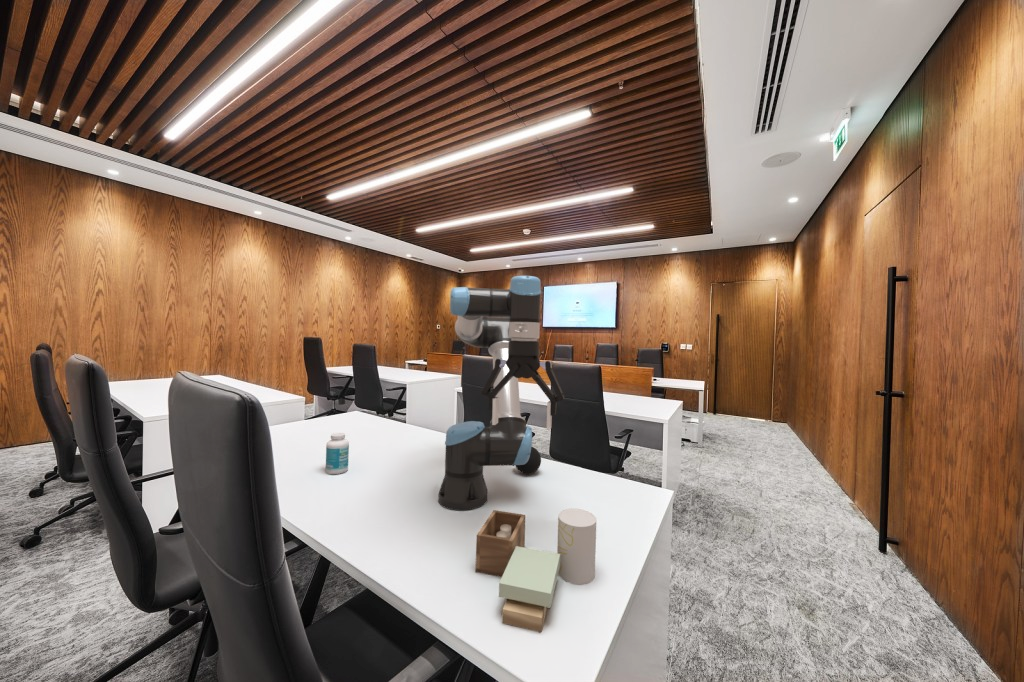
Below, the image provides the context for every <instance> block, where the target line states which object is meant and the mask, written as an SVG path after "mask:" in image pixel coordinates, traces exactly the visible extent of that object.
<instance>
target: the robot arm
mask: <svg viewBox="0 0 1024 682" xmlns="http://www.w3.org/2000/svg"><path fill="white" fill-rule="evenodd" d="M541 286H542V285H541V279H540V278H539V277H537V276H534V275H533V276H532V275H515V276H513V277H512V278H511V279H510V285H509V289H506V288H505V289H504V288H487V287H486V288H484V287H482V288H481V287H468V286H461V287H456V286H455V287H452V288H451V290H450V298H449V299H450V300H449V301H450V302H449V311H450V312H449V313H450V314H451V315H452V316H457V318H456V321H455V324H454V331H455V332H454V333H455V334H456V336H457V338H458V339H459V340H460V341H462V342H463V343H465V344H467V345H468V346H471V347H474V348H483V349H487V350H488V353H489V355H490V356H492V371H491V373H490V375H489V377H488V380H487V381H486V383H485V385H484V387H483V389H482V391H481V394H482V395H483V396H486V397H487V398H488V409H489V412H490V411H491V412H492V414H491V415H492V416H491V420H490V422H489V426H485V423H484V422H482V421H475V420H470V421H469V420H468V421H463V422H458V423H455V424H453V425H451V426H449V427H448V428H447V430H446V433H445V441H444V445H445V457H444V458H445V459H444V461H445V462H444V463H445V464H444V476H443V478H442V479H443V480H442V483H441V485H440V487H439V491H438V498H437V500H438V504H440V505H441V506H442V507H444V508H446V509H448V510H449V509H450V510H453V511H468V510H474V509H478V508H481V507H482V506H484V505H485V504H487V502H488V499H489V492H488V488H487V484H486V481H485V477H484V467H490V466H491V467H493V466H494V467H497V466H502V467H503V466H512V467H514V466H515V465H524V464H526V463H527V462H528V460H529V457H530V453H531V446H532V445H533V431H532V427H531V426H529V425H527V422H526V419H525V418H524V417H523V416H521V403H520V390H519V389H520V388H519V379H520V378H523V379H528V380H529V379H532V380H533V381H534V382H535V383H536V384H537V385H538V387H539V388H540V389H541V391H542V392H543V393H544V395H545V396H546V397H547V398H548V400H549V401H547V403H546V404H547V405H546V431H550V430H551V429H552V425H553V424H552V421H553V419H552V417H554V416H556V414H557V402H560V401H563V400H564V399H565V395H564V394H565V393H564V392H563V390H562V388H561V386H560V384H559V381H558V379H557V377H556V375H555V372H554V370H553V364H552V361H551V360H547V361H541V360H540V342H539V341H538V340H539V339H540V331H541V330H540V328H541V326H540V325H541V323H540V318H541V296H542V295H541V294H542V289H541ZM541 367H542V370H543V371H545V372H546V374H547V378H548V379H549V382H550V384H551V386H552V389H553V390H554V392H555V394H554V392H553V391H552V389H551V388H550V387H549V386H548V384H547V383H546V382H545V381H544V378H542V376H541V375H540V373H539V372H538V370H539V369H540V368H541ZM492 388H493V389H492ZM532 447H533V446H532Z"/></svg>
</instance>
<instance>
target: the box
mask: <svg viewBox="0 0 1024 682" xmlns="http://www.w3.org/2000/svg"><path fill="white" fill-rule="evenodd" d="M525 536H526V514H521V513H516V512H509V511H504V510H503V511H502V510H496V509H493V510H492V512H491V513H490V515H489V516H488V518H487V519H486V520H485V522H484V523H483V524H482V526H481V528H480V529H479V531H478V532H477V533H476V542H475V543H476V545H475V550H476V551H475V573H480V574H485V575H487V576H488V575H490V576H494V577H498V578H502V576H503V574H504V571H505V569H506V567H507V565H508V563H509V560H510V558H511V556H512V554H513V552H514V550H515V547H516V546H518V547H524V548H526V547H525V546H526V545H525V541H526V539H525Z"/></svg>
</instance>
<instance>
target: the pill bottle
mask: <svg viewBox="0 0 1024 682" xmlns="http://www.w3.org/2000/svg"><path fill="white" fill-rule="evenodd" d="M325 447H326V448H325V452H326V453H325V472H326V474H328V475H340V473H341V474H344V473H345V472H347V471H348V470H349V453H350V451H349V450H350V449H349V448H350V441H348V440H347V439H346V434H345V433H343V432H335V433H331V434H330V440H328V441H327V442H326V446H325Z"/></svg>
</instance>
